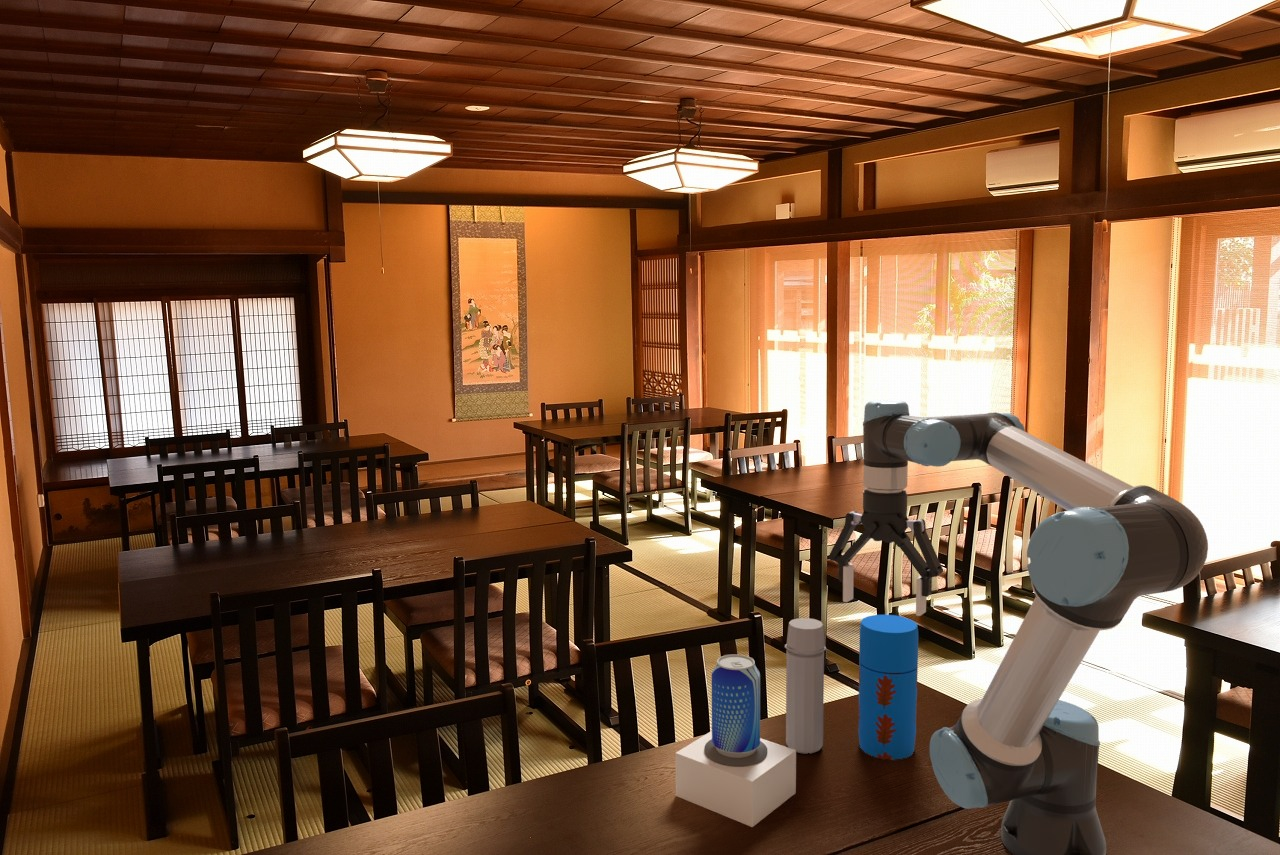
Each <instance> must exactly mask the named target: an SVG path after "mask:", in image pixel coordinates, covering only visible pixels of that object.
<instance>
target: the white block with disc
mask: <svg viewBox="0 0 1280 855" xmlns="http://www.w3.org/2000/svg"><path fill="white" fill-rule="evenodd" d="M796 781H797V752H796V750H794V749H791V748H789V747H788V746H785V745H782V744H780V743H779V744H778V743H777V742H772V741H769V740H767V739H764V738H762V737H760V745H759V747H758V748H757V749H756V751H755V752H754V753H753V754H752V755H750V756H748V757H743V758H732V757H727V756H724V755H722V754H720V753H719V752H718V751H717V749H716V747H715V746H714V745H713V743H712V730H710V731H709V732H707V733H706V734H704V735H702V736H701V737H699V738H697V739H696V740H694V741H693V742H691V743H690V744H688V745H686V746H684V747H683V748H681V749H680V750H677V751H676V752H675V796H676V797H678V798H680V799H683V800H685V801H687V802H689V803H692V804H695V805H697V806H700V807H702V808H704V809H706V810H710V811H712V812H715V813H716V814H719V815H721V816H724V817H726V818H729V819H731V820H734V821H735V822H739V823H741V824H743V825H746V826H748V827H751V828H753V827H755V826H756V825H757V824H759V823H760V822H761V821H762V820H763V819H765V818H766V817H767V816H769V814H771V813H772V812H774V810H776V809H777V808H779V807H780V806H782V804H784V803H785V802H786V801H787V800H788V799H790V798H792V796H794V795H796V792H797V790H796V789H797V788H796V787H797V782H796Z"/></svg>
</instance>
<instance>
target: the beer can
mask: <svg viewBox="0 0 1280 855" xmlns="http://www.w3.org/2000/svg"><path fill="white" fill-rule="evenodd" d="M711 731H712V743H713V745H714V746H715V747H716V749H717V751H718V752H719V753H720V754H722V755H724V756H727V757H732V758H743V757H748V756H750V755H752V754H753V753H754V752H755V751H756V749H757V748H758V747H759V745H760V738H761V673H760V670H759V668H757V666H756V663H755V660H754V658H753V657H750V656H748V655H743V654H737V653H736V654H724V655H723V656H720V657H719V658H717V659H716V664H715V666H714V668H713V669H712V672H711Z"/></svg>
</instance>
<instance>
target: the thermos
mask: <svg viewBox="0 0 1280 855" xmlns="http://www.w3.org/2000/svg"><path fill="white" fill-rule="evenodd" d="M858 651H859V655H858V659H859V660H858V661H859V662H858V664H859V665H858V716H857V717H858V719H857V722H858V723H857V724H858V726H857V730H858V744H859V745H860V746H859V748H861V749H862V750H863V751H864V752H865V753H864V752H863V751H862V750H861V749H860V750H861V751H862V752H863V753H864V754H866V753H868V754H870V755H871V756H870V755H869V756H870V757H872V756H875V757H874V758H876V757H879V758H883V759H882V760H885V759H890V760H889V761H894V760H893V759H901V760H903V759H902V758H905V759H908V758H909V756H910V755H911V756H913V755H914V753H913V752H915V747H916V737H917V713H918V712H917V710H918V708H917V707H918V667H919V666H918V665H919V628H918V624H917V622H916V621H914V620H912V619H910V618H908V617H905V616H899V615H895V614H875V615H874V614H873V615H868V616H866V617H864V618H862V619H861V621H860V625H859V648H858ZM868 754H867V755H868ZM912 754H913V755H912ZM911 756H910V757H911ZM907 757H908V758H907ZM879 758H878V759H879ZM891 759H892V760H891Z"/></svg>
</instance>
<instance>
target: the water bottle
mask: <svg viewBox="0 0 1280 855" xmlns="http://www.w3.org/2000/svg"><path fill="white" fill-rule="evenodd" d="M824 627H825V626H824V624H823V622H822V621H821V620H818V619H815V618H809V617H801V618H795V619H791V620H790V621H789V622H788V627H787V636H786V644H784V648H785V649H786V651H785V652H786V656H785V657H786V659H785V660H786V663H785V665H786V666H785V668H786V671H785V672H786V675H785V676H786V678H785V680H786V683H785V686H786V687H785V692H786V694H785V744H786V745H787V747H788V748H791V749H794V750H796V753H800V754H804V755H805V754H806V755H807V754H808V753H809V754H813V753H816V752H817V753H818V752H819V751H820V750H821V749H822V747H823V746H824V694H825V693H824V691H825V690H824V689H825V688H824V686H825V685H824V683H825V682H824V681H825V680H824V678H825V677H824V676H825V675H824V674H825V673H824V672H825V651H826V650H827V647H826V641H825V639H826V638H825V630H824V629H825V628H824ZM809 754H808V755H809Z"/></svg>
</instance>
